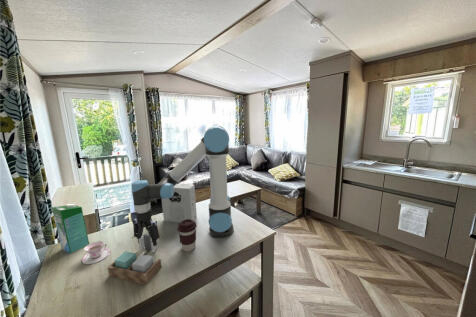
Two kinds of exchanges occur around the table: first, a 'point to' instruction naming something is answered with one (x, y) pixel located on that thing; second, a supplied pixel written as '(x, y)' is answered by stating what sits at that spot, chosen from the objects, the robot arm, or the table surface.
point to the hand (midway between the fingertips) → (148, 249)
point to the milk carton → (70, 227)
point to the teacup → (95, 252)
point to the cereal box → (180, 204)
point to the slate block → (142, 263)
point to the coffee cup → (187, 234)
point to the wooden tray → (134, 273)
